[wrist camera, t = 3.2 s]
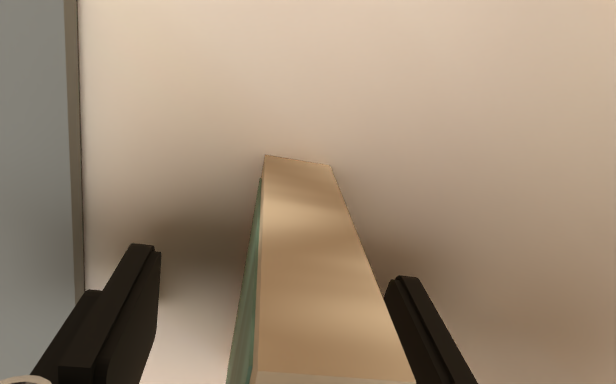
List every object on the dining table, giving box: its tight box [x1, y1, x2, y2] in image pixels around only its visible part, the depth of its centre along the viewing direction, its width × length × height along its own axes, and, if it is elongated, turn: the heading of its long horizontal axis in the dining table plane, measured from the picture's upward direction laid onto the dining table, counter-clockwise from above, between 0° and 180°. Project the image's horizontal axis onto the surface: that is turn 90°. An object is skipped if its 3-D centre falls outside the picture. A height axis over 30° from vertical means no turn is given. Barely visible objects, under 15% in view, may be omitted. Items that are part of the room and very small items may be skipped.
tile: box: [226, 155, 416, 384], centre depth 9 cm, size 2×8×7 cm, turn 168°
